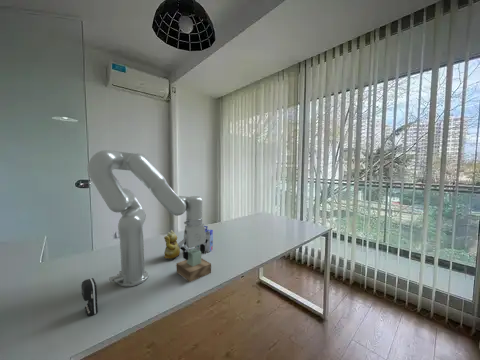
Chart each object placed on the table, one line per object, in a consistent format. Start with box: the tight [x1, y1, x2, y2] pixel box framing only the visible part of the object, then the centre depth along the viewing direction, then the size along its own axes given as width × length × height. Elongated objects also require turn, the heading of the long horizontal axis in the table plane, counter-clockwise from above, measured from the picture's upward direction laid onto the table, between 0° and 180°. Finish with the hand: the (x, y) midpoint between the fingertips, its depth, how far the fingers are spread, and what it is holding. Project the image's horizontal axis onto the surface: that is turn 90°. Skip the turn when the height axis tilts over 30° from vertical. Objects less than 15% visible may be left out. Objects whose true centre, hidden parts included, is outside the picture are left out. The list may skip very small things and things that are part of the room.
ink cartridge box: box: [194, 225, 214, 253], centre depth 132 cm, size 10×6×14 cm, turn 78°
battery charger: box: [80, 277, 99, 317], centre depth 78 cm, size 7×4×11 cm, turn 44°
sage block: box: [187, 248, 202, 267], centre depth 106 cm, size 5×5×6 cm
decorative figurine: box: [163, 229, 181, 261], centre depth 122 cm, size 10×8×15 cm
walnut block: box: [176, 257, 212, 283], centre depth 106 cm, size 12×12×5 cm
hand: (194, 255), depth 106 cm, fingers open, 9 cm apart
